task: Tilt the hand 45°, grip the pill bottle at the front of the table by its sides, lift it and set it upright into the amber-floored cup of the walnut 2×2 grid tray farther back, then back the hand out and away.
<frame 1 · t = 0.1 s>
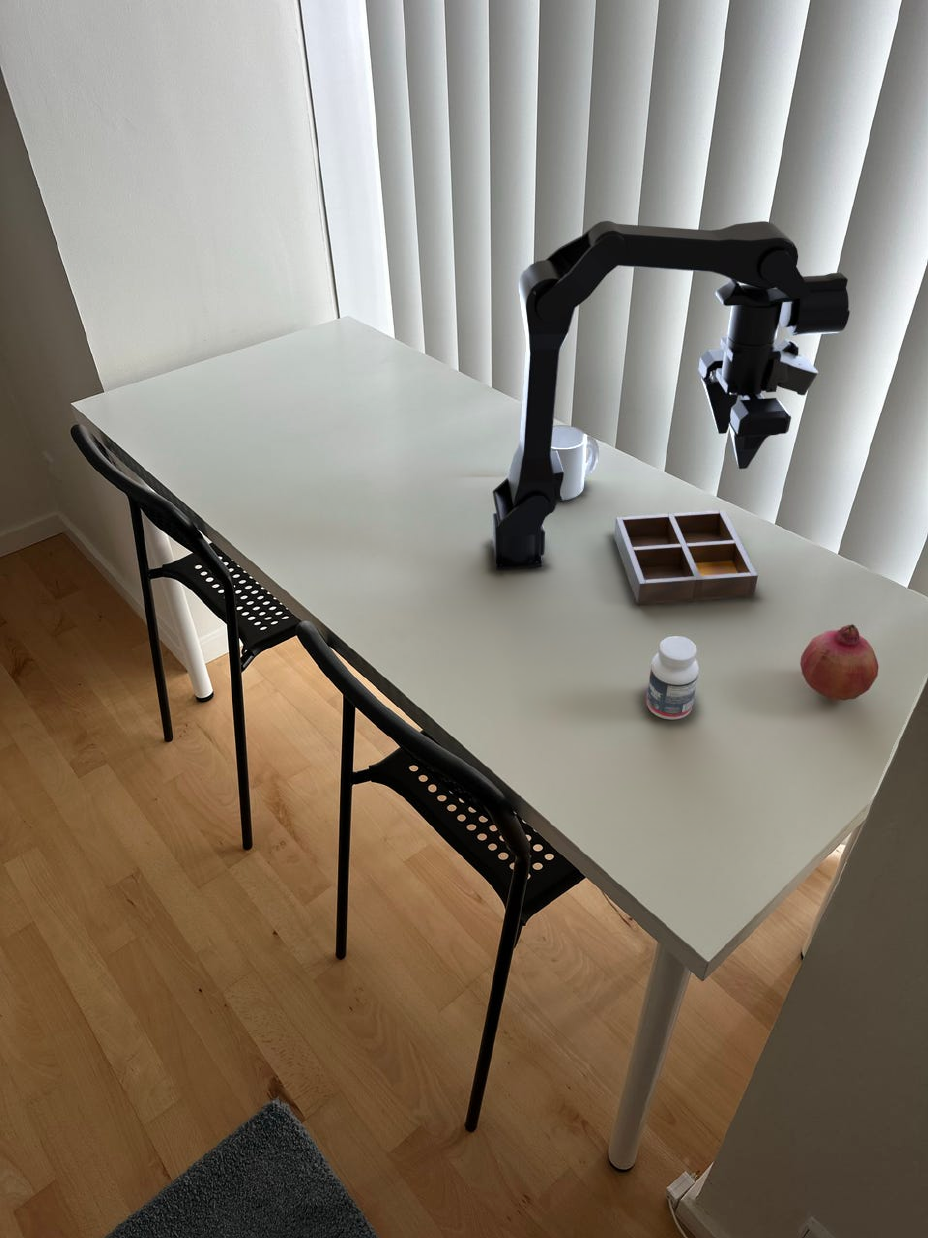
hand: (732, 450, 124), 15 cm above the table, tool pointing down, fingers open, 9 cm apart
grid: (680, 565, 130), on the table
fruit: (830, 693, 110), on the table
pill bottle: (668, 705, 109), on the table
cup: (568, 487, 146), on the table
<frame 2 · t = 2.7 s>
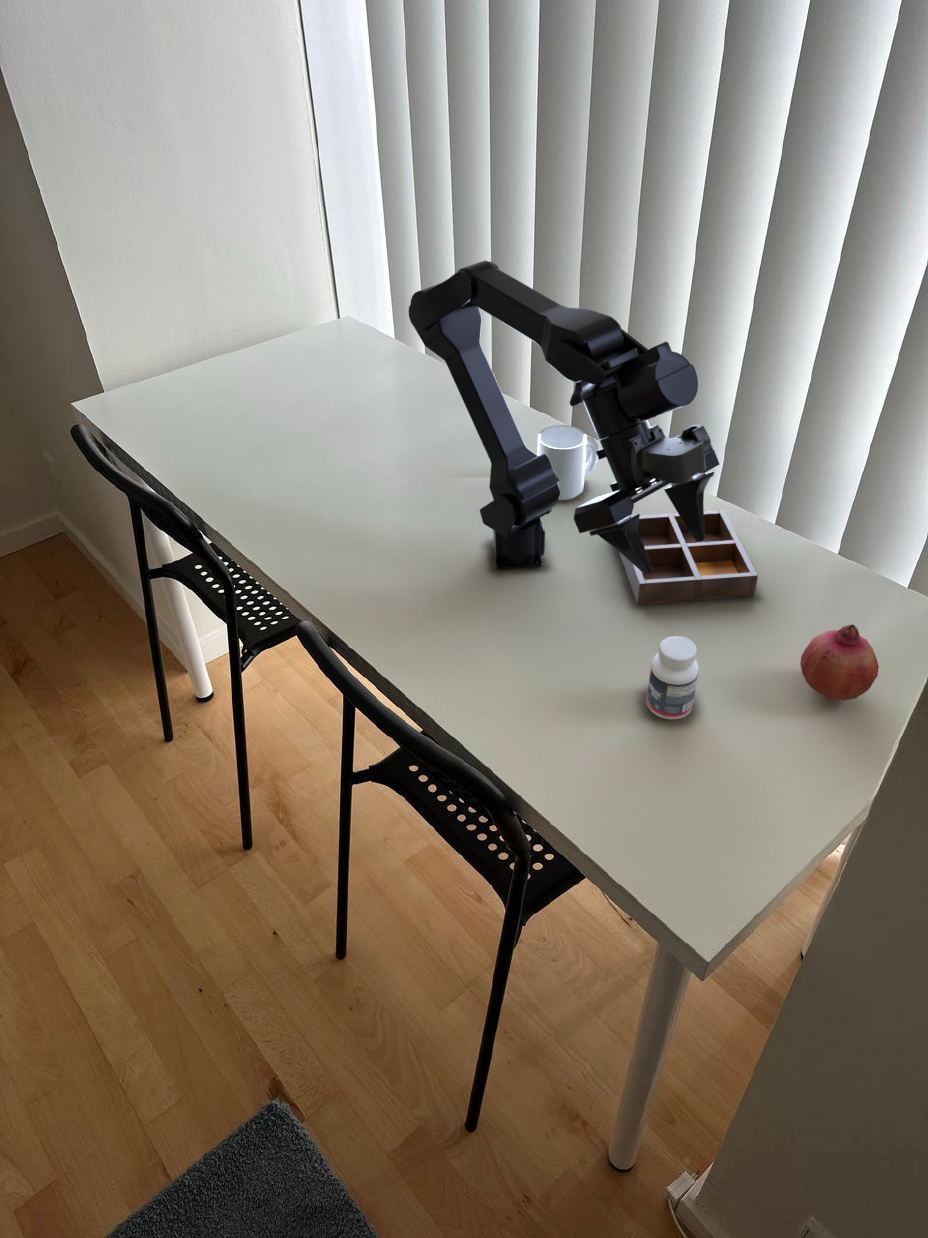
hand: (675, 556, 108), 14 cm above the table, tool tilted 35°, fingers open, 9 cm apart
nothing on the table moved.
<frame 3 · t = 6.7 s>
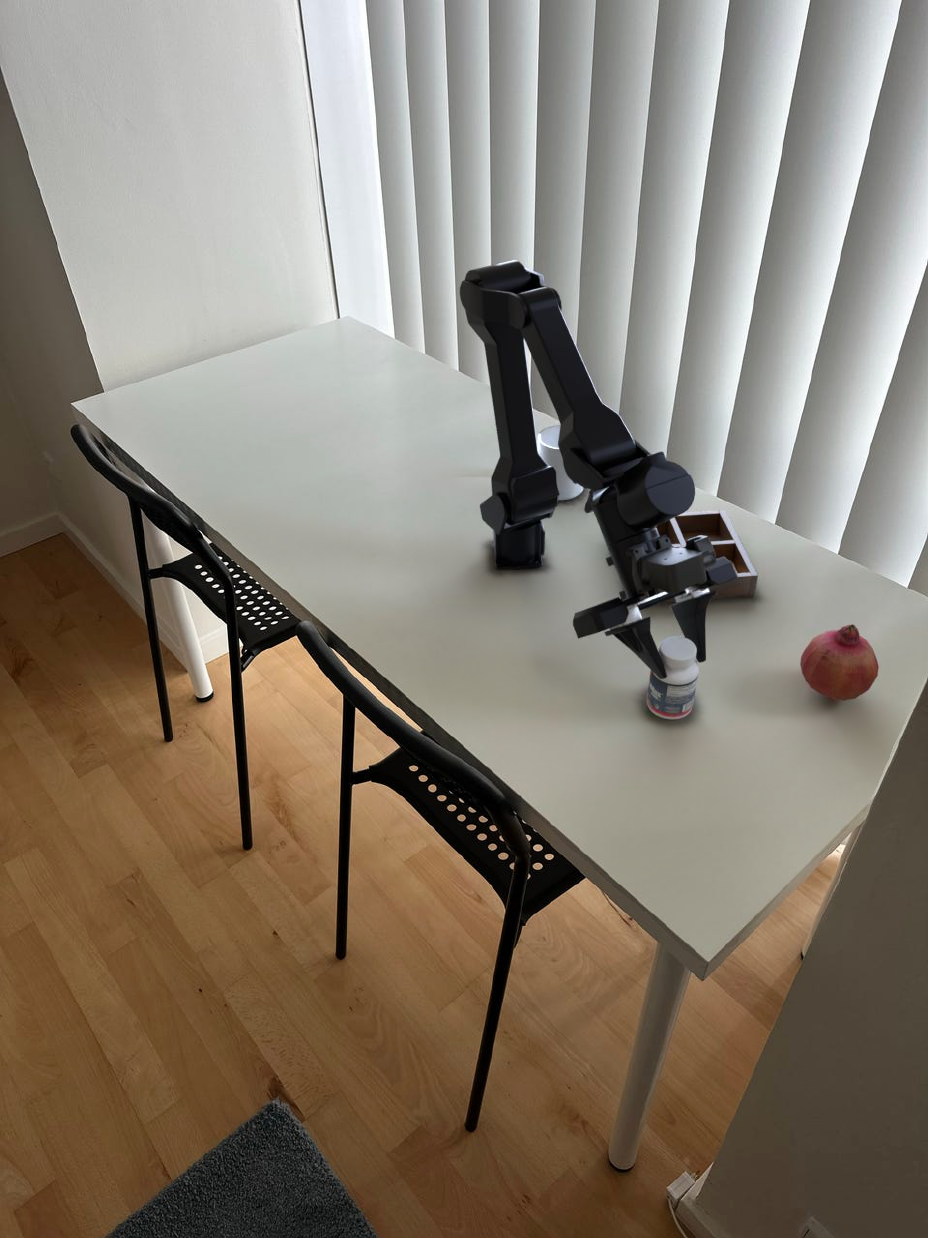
hand: (683, 670, 104), 7 cm above the table, tool tilted 45°, fingers closed on pill bottle, 5 cm apart
pill bottle: (668, 705, 109), on the table, touching gripper
everything else where it was.
when the fingers open (7 cm above the table, at t = 14.4 s): pill bottle stays where it is, resting on grid.
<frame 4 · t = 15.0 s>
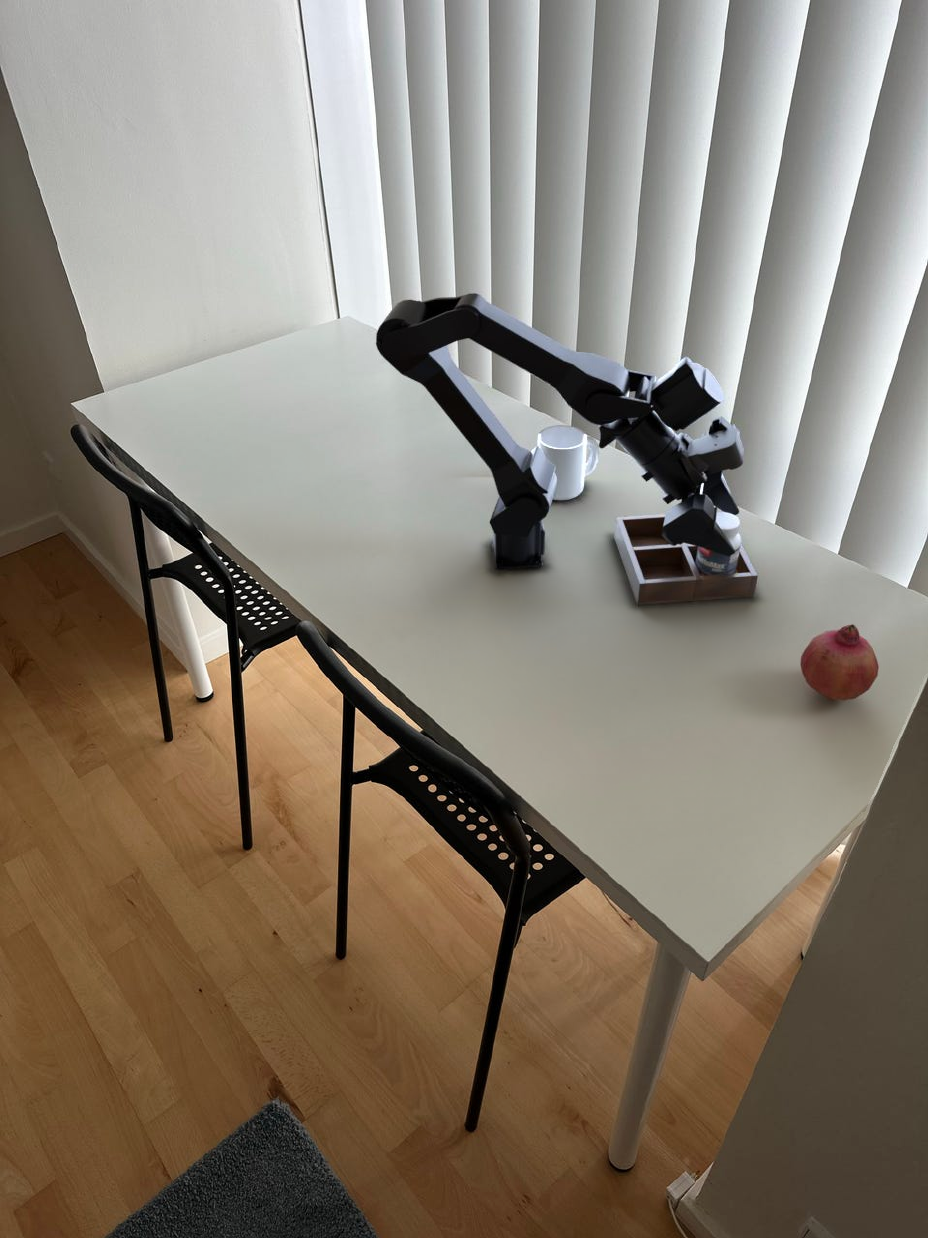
hand: (734, 533, 122), 8 cm above the table, tool tilted 45°, fingers open, 9 cm apart
pill bottle: (713, 576, 127), point 1 cm above the table, touching grid
everything else where it was.
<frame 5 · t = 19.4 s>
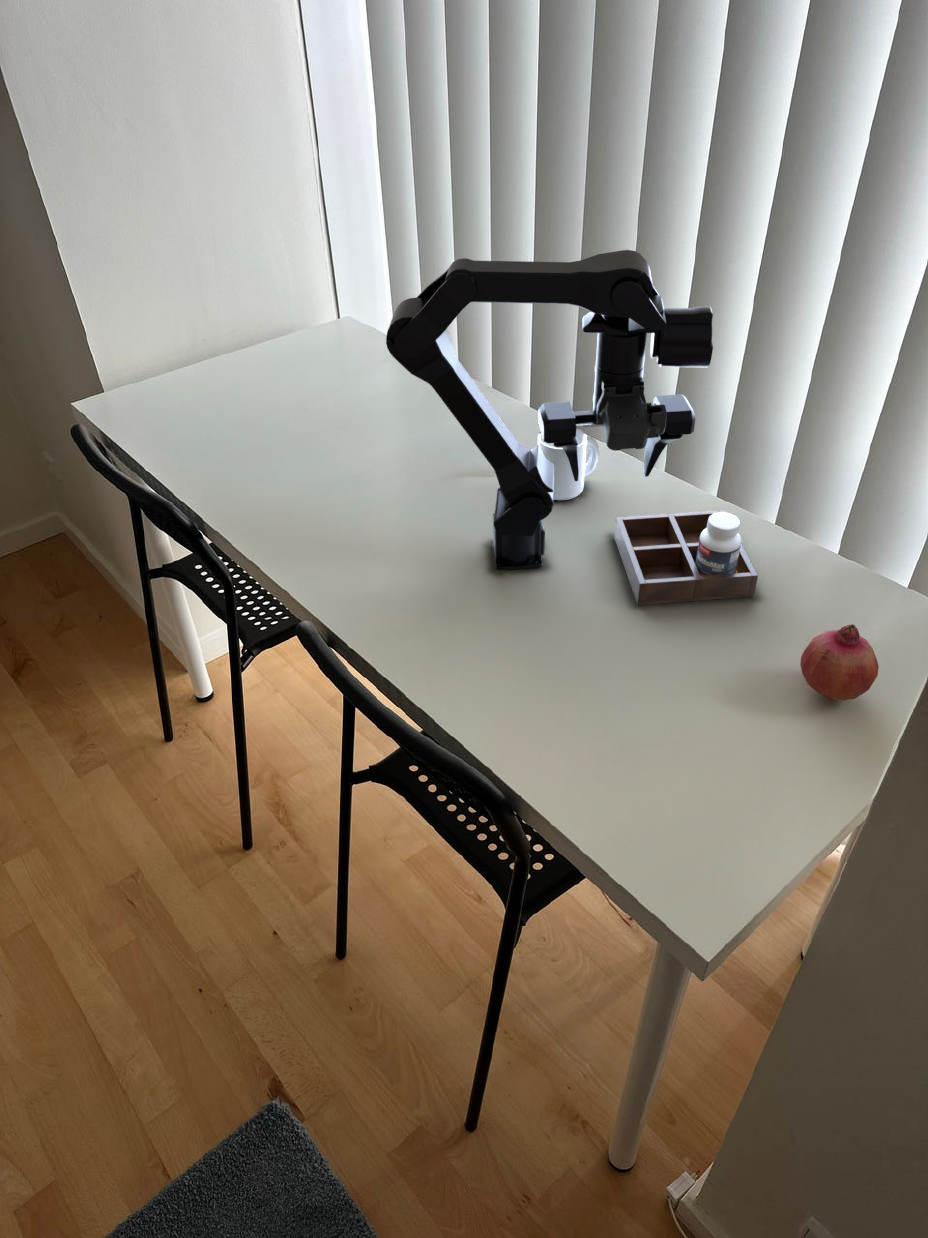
hand: (610, 477, 123), 13 cm above the table, tool pointing down, fingers open, 9 cm apart
nothing on the table moved.
at the end: pill bottle 0.2 cm from the target spot in the grid, point 0.5 cm above the grid's base; pill bottle tilted 0°; the gripper is holding nothing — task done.
